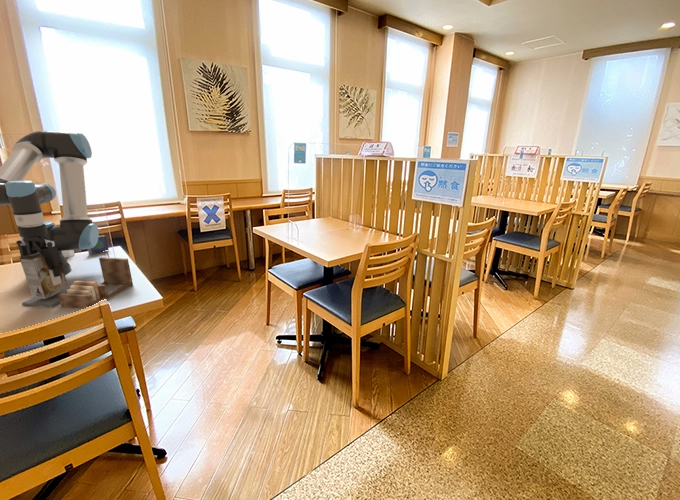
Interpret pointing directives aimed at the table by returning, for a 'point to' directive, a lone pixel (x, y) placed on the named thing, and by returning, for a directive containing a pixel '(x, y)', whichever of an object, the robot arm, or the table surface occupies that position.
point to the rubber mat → (44, 301)
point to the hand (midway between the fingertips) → (48, 283)
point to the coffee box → (41, 276)
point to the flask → (99, 246)
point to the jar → (68, 253)
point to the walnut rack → (113, 274)
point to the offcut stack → (85, 289)
